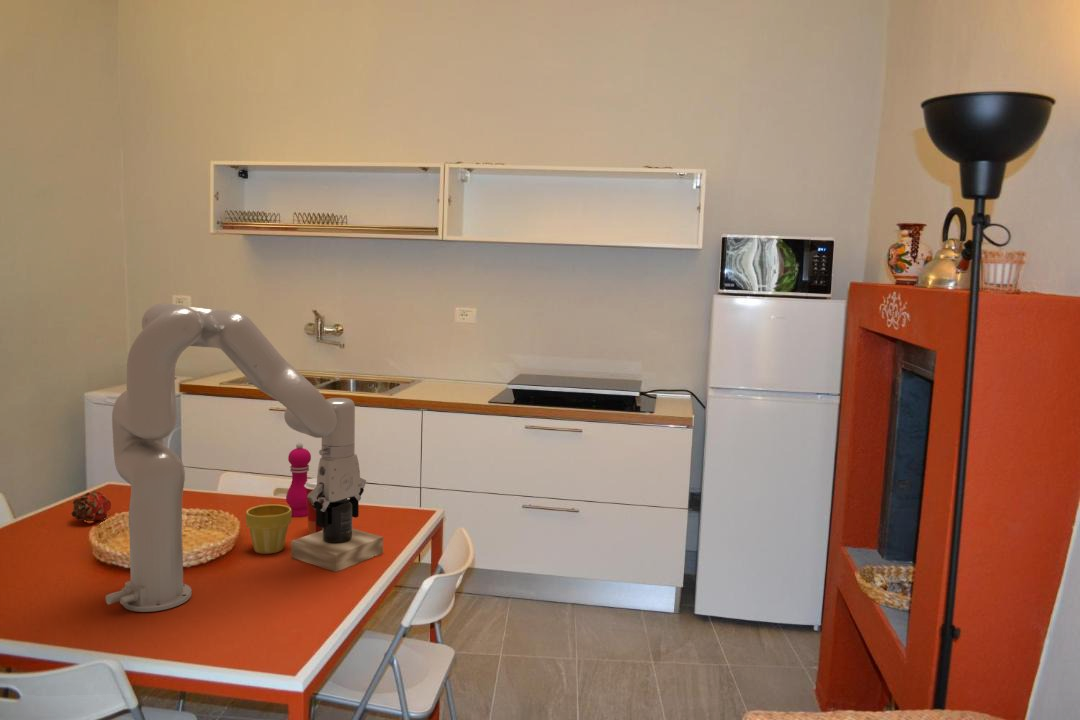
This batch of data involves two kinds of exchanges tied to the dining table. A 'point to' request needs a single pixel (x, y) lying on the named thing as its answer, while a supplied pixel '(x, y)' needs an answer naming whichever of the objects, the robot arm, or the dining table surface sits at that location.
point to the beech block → (336, 550)
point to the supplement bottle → (338, 522)
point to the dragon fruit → (91, 507)
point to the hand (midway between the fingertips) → (337, 521)
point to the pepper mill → (298, 480)
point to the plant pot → (268, 527)
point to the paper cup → (310, 510)
